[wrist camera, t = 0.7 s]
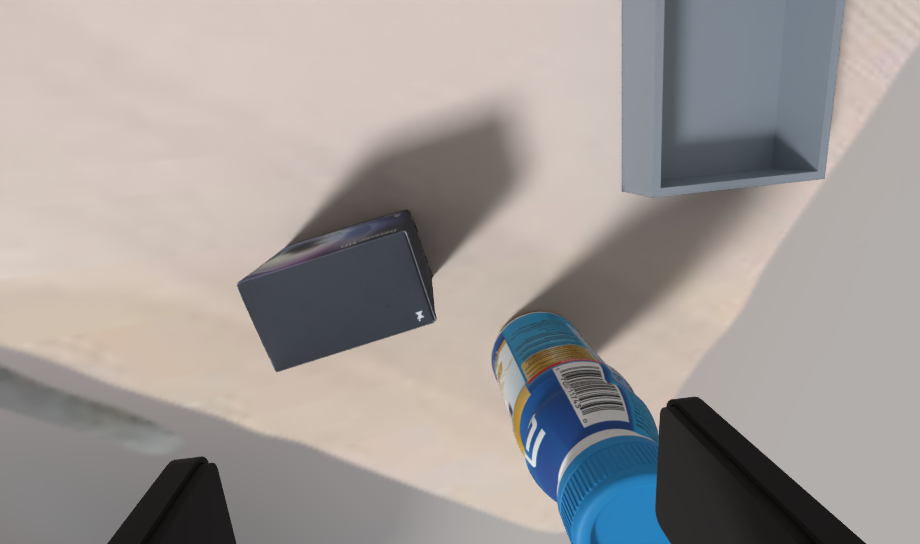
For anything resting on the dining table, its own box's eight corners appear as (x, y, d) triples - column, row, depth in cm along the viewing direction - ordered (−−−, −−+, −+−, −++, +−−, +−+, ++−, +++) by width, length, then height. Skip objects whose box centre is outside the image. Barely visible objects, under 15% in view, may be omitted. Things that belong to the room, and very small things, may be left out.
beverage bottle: (600, 340, 41) (764, 508, 22) (542, 411, 43) (649, 627, 24) (528, 289, 40) (638, 424, 20) (469, 365, 41) (520, 559, 22)
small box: (408, 203, 37) (408, 224, 27) (434, 278, 39) (442, 325, 28) (280, 243, 37) (230, 280, 26) (311, 317, 38) (276, 378, 28)
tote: (621, -82, 33) (657, -121, 28) (796, -93, 34) (860, -132, 29) (621, 191, 38) (652, 197, 33) (773, 174, 39) (824, 178, 34)
